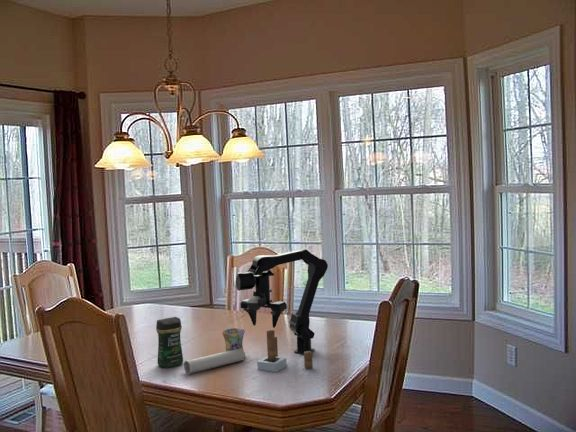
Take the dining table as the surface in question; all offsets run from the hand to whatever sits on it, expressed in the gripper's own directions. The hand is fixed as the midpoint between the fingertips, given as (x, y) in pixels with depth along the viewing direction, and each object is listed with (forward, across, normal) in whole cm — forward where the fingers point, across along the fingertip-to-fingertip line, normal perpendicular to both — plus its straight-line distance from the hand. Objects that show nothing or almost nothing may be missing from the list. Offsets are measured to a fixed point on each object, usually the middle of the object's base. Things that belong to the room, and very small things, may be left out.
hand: (264, 326), depth 220 cm
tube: (+13, -12, -16) cm, 24 cm away
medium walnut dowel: (+13, +4, 0) cm, 14 cm away
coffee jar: (+13, -31, -21) cm, 40 cm away
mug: (+13, -14, -2) cm, 19 cm away
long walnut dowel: (+13, +8, -8) cm, 17 cm away
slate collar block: (+13, +8, -8) cm, 17 cm away
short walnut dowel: (+13, +21, -3) cm, 25 cm away
